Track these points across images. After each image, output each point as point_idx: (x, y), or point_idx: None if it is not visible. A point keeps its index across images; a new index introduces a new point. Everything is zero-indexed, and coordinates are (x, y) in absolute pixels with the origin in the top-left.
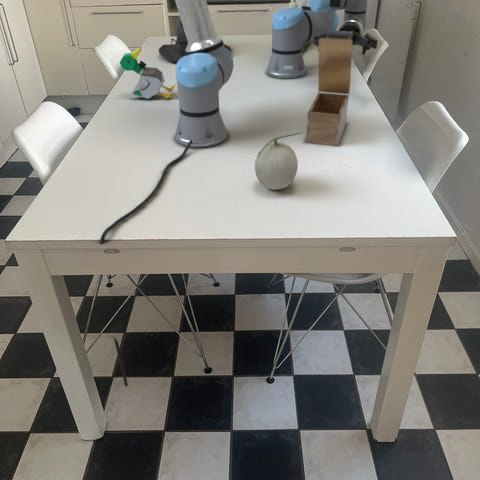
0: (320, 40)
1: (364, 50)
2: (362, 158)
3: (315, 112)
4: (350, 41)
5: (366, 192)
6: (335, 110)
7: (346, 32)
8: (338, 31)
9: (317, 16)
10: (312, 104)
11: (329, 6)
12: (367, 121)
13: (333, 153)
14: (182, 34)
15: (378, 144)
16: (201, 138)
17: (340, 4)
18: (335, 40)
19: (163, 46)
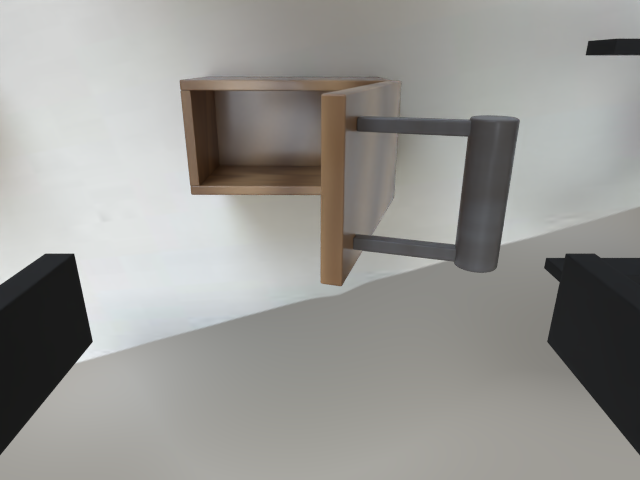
0: (321, 105)
1: (553, 274)
2: (163, 240)
3: (186, 108)
4: (324, 275)
5: (3, 265)
6: None
7: (472, 241)
8: (484, 194)
9: None
10: (259, 82)
11: (45, 255)
12: (406, 228)
13: (164, 167)
14: None
15: (258, 268)
16: None
17: (78, 353)
18: (325, 196)
19: None
